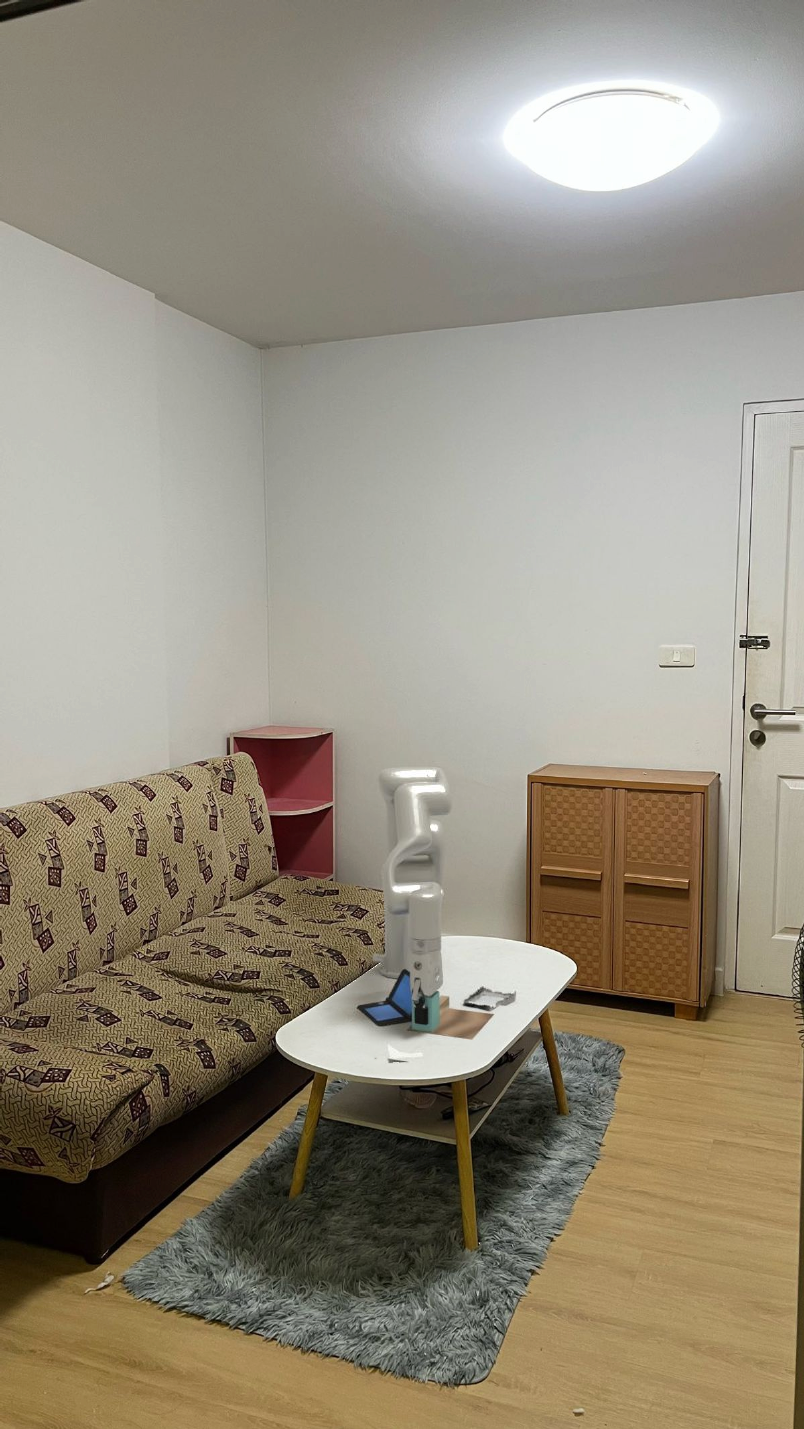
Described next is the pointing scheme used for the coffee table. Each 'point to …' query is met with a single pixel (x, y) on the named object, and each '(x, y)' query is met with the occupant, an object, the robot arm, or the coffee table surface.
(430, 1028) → the teal block
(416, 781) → the robot arm
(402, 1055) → the external hard drive
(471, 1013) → the walnut board
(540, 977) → the coffee table surface
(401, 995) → the handheld game console
